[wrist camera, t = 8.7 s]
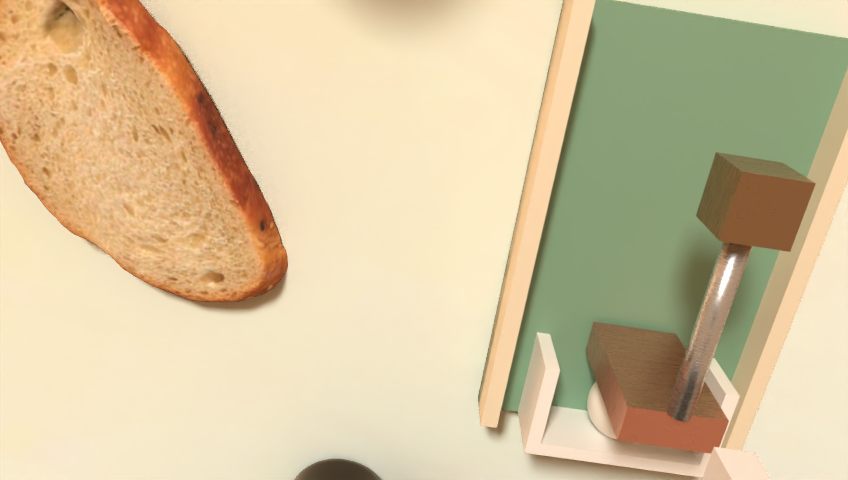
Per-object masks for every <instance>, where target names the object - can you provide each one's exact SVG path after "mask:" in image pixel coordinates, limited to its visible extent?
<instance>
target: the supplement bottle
mask: <svg viewBox="0 0 848 480" xmlns="http://www.w3.org/2000/svg"><path fill="white" fill-rule="evenodd" d="M295 480H380V479H379V478H378V477H377V475H376V474H375V473H373V472H372V471H371V470H370V469H368V468H367V467H365V466H363V465H361V464H359V463H356V462H353V461H350V460H344V459H328V460H323V461H319V462H316V463H314V464H312V465H310V466H308V467H307V468H305V469H304V470H303V471H302V472H300V474H299V475H298V476H297V477H296V478H295Z"/></svg>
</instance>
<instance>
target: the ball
mask: <svg viewBox="0 0 848 480" xmlns="http://www.w3.org/2000/svg"><path fill="white" fill-rule="evenodd" d="M587 409H588V413H589V416H590V419H591V421H592V422H593V424H594V425H595V427H596V428H597V429H598V430H599V431H600V432H602V433H603V434H604V435H606V436H608V437H610V438H613V439H617V438H616V435H615V432H614V430H613V427H612V424H611V421H610V418H609V415H608V413H607V410H606V407H605V404H604V401H603V399H602V396H601V393H600V390H599V387H598V385H597V382H595V383H594V384H593V386H592V387H591V389H590V391H589V394H588V399H587Z"/></svg>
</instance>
